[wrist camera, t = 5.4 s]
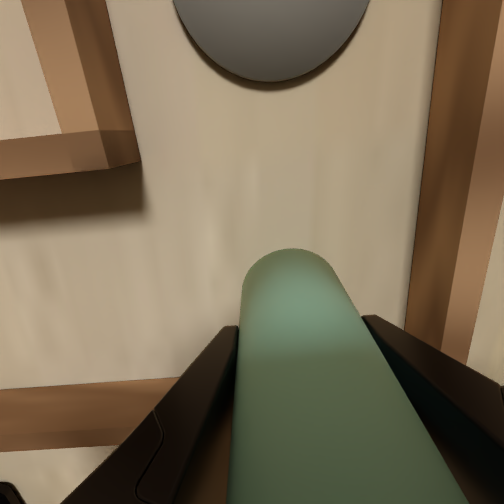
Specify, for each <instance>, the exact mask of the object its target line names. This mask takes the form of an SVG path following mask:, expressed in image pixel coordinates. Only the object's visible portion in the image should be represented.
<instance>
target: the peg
mask: <svg viewBox="0 0 504 504" xmlns="http://www.w3.org/2000/svg"><path fill="white" fill-rule="evenodd" d="M226 504H469V502H468V500H467V499H466V497H465V495H464V494H463V492H462V490H461V488H460V487H459V485H458V483H457V482H456V480H455V478H454V476H453V475H452V473H451V471H450V469H449V468H448V466H447V464H446V463H445V461H444V459H443V457H442V456H441V454H440V452H439V451H438V449H437V447H436V445H435V444H434V442H433V440H432V439H431V437H430V435H429V433H428V432H427V430H426V428H425V426H424V425H423V423H422V421H421V420H420V418H419V416H418V414H417V413H416V411H415V409H414V408H413V406H412V404H411V402H410V401H409V399H408V397H407V396H406V394H405V392H404V390H403V389H402V387H401V385H400V384H399V382H398V380H397V378H396V377H395V375H394V373H393V371H392V370H391V368H390V366H389V365H388V363H387V361H386V359H385V358H384V356H383V354H382V353H381V351H380V349H379V347H378V346H377V344H376V342H375V341H374V339H373V337H372V335H371V334H370V332H369V330H368V328H367V327H366V325H365V323H364V322H363V320H362V318H361V316H360V315H359V313H358V311H357V310H356V308H355V306H354V304H353V303H352V301H351V299H350V298H349V296H348V294H347V292H346V291H345V289H344V287H343V285H342V284H341V282H340V280H339V279H338V277H337V275H336V273H335V272H334V270H333V268H332V267H331V266H330V264H329V263H328V262H327V261H326V260H324V259H323V258H322V257H320V256H319V255H317V254H315V253H313V252H310V251H307V250H302V249H283V250H278V251H275V252H272V253H270V254H268V255H266V256H264V257H262V258H261V259H260V260H258V261H257V262H256V263H255V264H254V265H253V266H252V267H251V269H250V270H249V271H248V273H247V275H246V277H245V279H244V282H243V286H242V296H241V309H240V323H239V336H238V350H237V363H236V376H235V389H234V402H233V415H232V429H231V442H230V455H229V468H228V482H227V495H226Z"/></svg>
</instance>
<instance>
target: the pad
mask: <svg viewBox="0 0 504 504" xmlns="http://www.w3.org/2000/svg"><path fill="white" fill-rule="evenodd" d="M173 1H174V4H175V6H176V9H177V11H178V13H179V15H180V18H181V20H182V21H183V23H184V25H185V27H186V28H187V30H188V32H189V33H190V35H191V36H192V38H193V39H194V40H195V42H196V43H197V44H198V46H199V47H200V48H201V49H202V50H203V51H204V52H205V53H206V54H207V56H208V57H209V58H211V59H212V60H213V61H214V62H216V63H217V64H218V65H219V66H221V67H222V68H224V69H226V70H227V71H229V72H231V73H233V74H235V75H238V76H240V77H242V78H246V79H250V80H254V81H262V82H278V81H284V80H289V79H292V78H295V77H298V76H301V75H303V74H305V73H307V72H309V71H311V70H313V69H315V68H316V67H318V66H319V65H321V64H322V63H324V62H325V61H326V60H327V59H328V58H329V57H331V56H332V55H333V54H334V53H335V52H336V51H337V50H338V49H339V48H340V47H341V46H342V44H343V43H344V42H345V41H346V40H347V39H348V37H349V36H350V35H351V33H352V32H353V30H354V29H355V27H356V26H357V24H358V22H359V21H360V19H361V17H362V15H363V13H364V12H365V9H366V7H367V4H368V2H369V0H173Z"/></svg>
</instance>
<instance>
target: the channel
mask: <svg viewBox="0 0 504 504" xmlns="http://www.w3.org/2000/svg"><path fill="white" fill-rule="evenodd" d="M21 2H22V6H23V9H24V12H25V15H26V19H27V22H28V25H29V28H30V31H31V35H32V38H33V41H34V44H35V48H36V51H37V54H38V57H39V60H40V64H41V67H42V70H43V73H44V77H45V80H46V83H47V86H48V89H49V93H50V96H51V99H52V102H53V106H54V109H55V112H56V115H57V118H58V122H59V125H60V128H61V131H62V134H55V135H46V136H36V137H27V138H17V139H8V140H0V180H1V179H11V178H21V177H31V176H41V175H51V174H61V173H71V172H81V171H91V170H102V169H110V168H114V167H118V166H122V165H126V164H130V163H134V162H138V161H141V158H140V154H139V149H138V145H137V141H136V136H135V132H134V127H133V123H132V118H131V114H130V110H129V105H128V101H127V96H126V92H125V87H124V83H123V78H122V74H121V70H120V65H119V61H118V56H117V52H116V47H115V43H114V39H113V34H112V30H111V25H110V21H109V16H108V12H107V7H106V3H105V0H21ZM503 196H504V0H443V5H442V14H441V22H440V31H439V39H438V48H437V56H436V65H435V74H434V82H433V91H432V99H431V108H430V116H429V125H428V134H427V142H426V151H425V159H424V168H423V176H422V185H421V194H420V202H419V211H418V219H417V228H416V237H415V245H414V254H413V262H412V271H411V279H410V288H409V297H408V305H407V314H406V322H405V331H406V332H407V333H409V334H411V335H413V336H415V337H416V338H418V339H420V340H422V341H423V342H425V343H427V344H429V345H431V346H432V347H434V348H436V349H438V350H439V351H441V352H443V353H445V354H447V355H448V356H450V357H452V358H454V359H455V360H457V361H459V362H461V363H463V364H464V365H466V363H467V358H468V354H469V349H470V345H471V340H472V336H473V331H474V327H475V322H476V318H477V313H478V309H479V304H480V300H481V295H482V290H483V286H484V281H485V277H486V272H487V268H488V263H489V259H490V254H491V250H492V245H493V241H494V236H495V232H496V227H497V223H498V218H499V214H500V209H501V205H502V200H503ZM179 378H180V377H177V378H163V379H148V380H134V381H120V382H105V383H91V384H77V385H62V386H48V387H34V388H19V389H5V390H0V452H10V451H27V450H43V449H60V448H76V447H93V446H109V445H120V444H121V443H122V442H123V441H124V440H125V439H126V438H127V437H128V436H129V435H130V434H131V432H132V431H133V430H134V429H135V428H136V427H137V426H138V425H139V424H140V423H141V421H142V420H143V419H144V418H145V417H146V416H147V414H148V413H149V412H150V411H151V410H154V407H155V405H156V404H157V403H158V402H159V401H160V400H161V398H162V397H163V396H164V395H165V394H166V393H167V392H168V390H169V389H170V388H171V387H172V386H173V385H174V383H175V382H176V381H177V380H178V379H179Z"/></svg>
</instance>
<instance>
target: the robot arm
mask: <svg viewBox="0 0 504 504" xmlns="http://www.w3.org/2000/svg"><path fill="white" fill-rule="evenodd" d="M361 318H362V320H363V322H364V323H365V325H366V327H367V328H368V330H369V332H370V334H371V335H372V337H373V339H374V341H375V342H376V344H377V346H378V347H379V349H380V351H381V353H382V354H383V356H384V358H385V359H386V361H387V363H388V365H389V366H390V368H391V370H392V371H393V373H394V375H395V377H396V378H397V380H398V382H399V384H400V385H401V387H402V389H403V390H404V392H405V394H406V396H407V397H408V399H409V401H410V402H411V404H412V406H413V408H414V409H415V411H416V413H417V414H418V416H419V418H420V420H421V421H422V423H423V425H424V426H425V428H426V430H427V432H428V433H429V435H430V437H431V439H432V440H433V442H434V444H435V445H436V447H437V449H438V451H439V452H440V454H441V456H442V457H443V459H444V461H445V463H446V464H447V466H448V468H449V469H450V471H451V473H452V475H453V476H454V478H455V480H456V482H457V483H458V485H459V487H460V488H461V490H462V492H463V494H464V495H465V497H466V499H467V500H468V502H469V504H504V387H503V386H502V387H500V385H499V384H498V383H496V382H495V381H493V380H491V379H489V378H487V377H486V376H484V375H482V374H480V373H479V372H477V371H475V370H473V369H471V368H470V367H468V366H466V365H464V364H463V363H461V362H459V361H457V360H455V359H454V358H452V357H450V356H448V355H447V354H445V353H443V352H441V351H439V350H438V349H436V348H434V347H432V346H431V345H429V344H427V343H425V342H423V341H422V340H420V339H418V338H416V337H415V336H413V335H411V334H409V333H407V332H406V331H404V330H402V329H400V328H399V327H397V326H395V325H393V324H391V323H390V322H388V321H386V320H384V319H383V318H381V317H379V316H377V315H363V316H361ZM238 336H239V328H238V326H237V325H234V326H224V327H223V328H222V329H221V330H220V332H219V333H218V334H217V335H216V336H215V337H214V338H213V340H212V341H211V342H210V343H209V344H208V345H207V347H206V348H205V349H204V350H203V351H202V352H201V353H200V355H199V356H198V357H197V358H196V359H195V360H194V362H193V363H192V364H191V365H190V366H189V367H188V368H187V370H186V371H185V372H184V373H183V374H182V375H181V377H180V378H179V379H178V380H177V381H176V382H175V383H174V385H173V386H172V387H171V388H170V389H169V390H168V392H167V393H166V394H165V395H164V396H163V397H162V398H161V400H160V401H159V402H158V403H157V404H156V405H155V407H154V410H151V411H150V412H149V413H148V414H147V416H146V417H145V418H144V419H143V420H142V421H141V423H140V424H139V425H138V426H137V427H136V428H135V429H134V430H133V431H132V432H131V434H130V435H129V436H128V437H127V438H126V439H125V440H124V441H123V442H122V443H121V444H120V445H119V446H118V447H117V448H116V449H115V450H114V451H113V452H112V453H111V454H110V455H109V456H108V457H107V458H106V459H105V460H104V461H103V462H102V463H101V464H100V465H99V466H98V467H97V468H96V469H95V470H94V471H93V472H92V473H91V474H90V475H89V476H88V477H87V478H86V479H85V480H84V481H83V482H82V483H81V484H80V485H79V486H78V487H77V488H76V489H75V490H74V491H73V492H72V493H71V494H70V495H69V496H68V497H66V498H65V499H64V500H63V501H62V502H61V503H60V504H226V495H227V482H228V468H229V455H230V442H231V429H232V415H233V402H234V389H235V376H236V363H237V350H238ZM0 504H21V503H20V502H19V500H18V499H17V497H16V495H15V494H14V492H13V491H12V489H11V488H10V487H9V486H7V485H5V484H0Z"/></svg>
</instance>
